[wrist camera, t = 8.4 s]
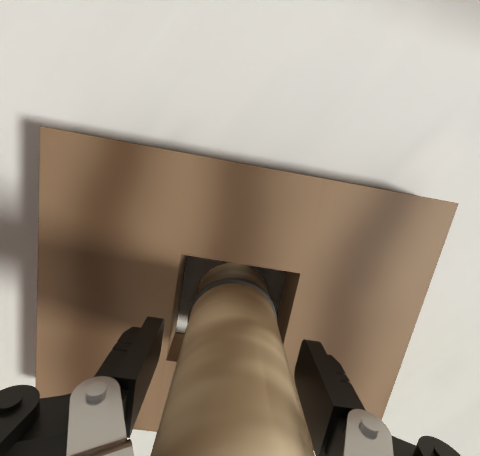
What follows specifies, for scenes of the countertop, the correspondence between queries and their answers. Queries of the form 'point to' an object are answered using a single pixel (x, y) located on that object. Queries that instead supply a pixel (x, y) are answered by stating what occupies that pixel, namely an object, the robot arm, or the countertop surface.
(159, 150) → the walnut board
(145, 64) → the countertop surface
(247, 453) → the beech peg
